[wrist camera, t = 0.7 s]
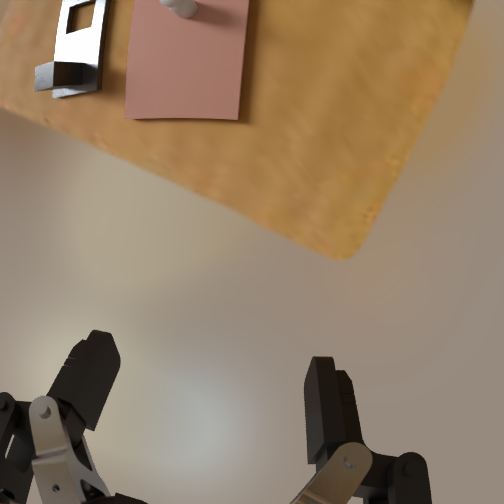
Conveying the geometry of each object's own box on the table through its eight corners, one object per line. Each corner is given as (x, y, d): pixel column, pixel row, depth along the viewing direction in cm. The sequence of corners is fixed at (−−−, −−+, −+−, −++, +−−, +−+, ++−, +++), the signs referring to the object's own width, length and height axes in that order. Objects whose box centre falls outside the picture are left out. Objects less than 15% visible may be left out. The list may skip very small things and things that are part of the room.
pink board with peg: (142, -15, 21) (113, -35, 14) (252, -22, 21) (248, -52, 14) (130, 118, 30) (96, 126, 23) (238, 119, 30) (230, 124, 23)
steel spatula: (67, 2, 20) (35, -7, 14) (112, -12, 20) (83, -27, 14) (57, 97, 28) (22, 103, 21) (101, 90, 28) (67, 92, 21)
